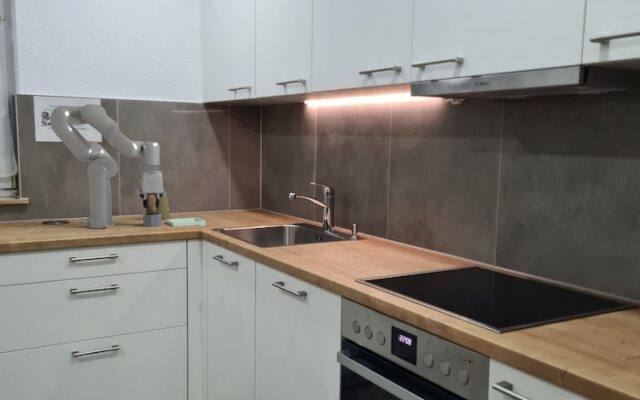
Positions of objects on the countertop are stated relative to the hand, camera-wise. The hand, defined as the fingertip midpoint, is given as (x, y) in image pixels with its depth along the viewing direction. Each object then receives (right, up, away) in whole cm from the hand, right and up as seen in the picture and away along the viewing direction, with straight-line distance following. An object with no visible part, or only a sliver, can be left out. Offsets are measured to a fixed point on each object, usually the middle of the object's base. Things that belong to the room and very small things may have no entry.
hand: (151, 207), depth 271 cm
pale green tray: (+14, -9, +9) cm, 19 cm away
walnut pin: (0, -6, +1) cm, 6 cm away
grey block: (0, -10, +1) cm, 10 cm away
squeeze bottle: (-1, -7, +22) cm, 23 cm away
